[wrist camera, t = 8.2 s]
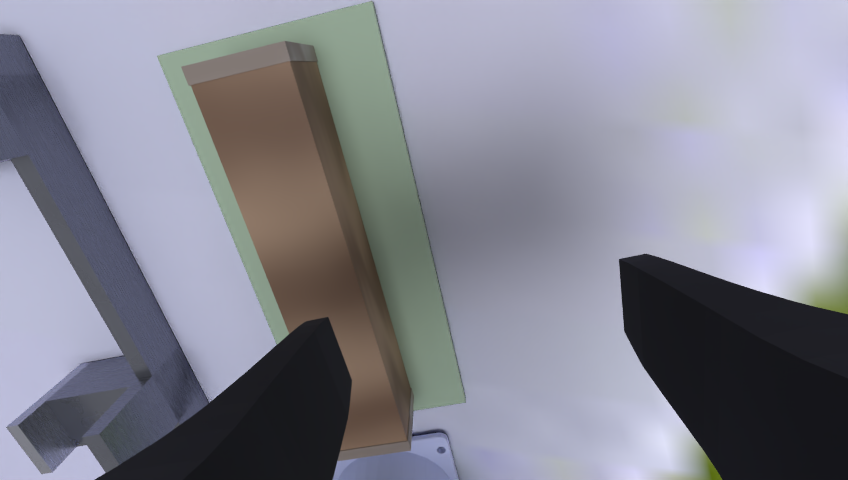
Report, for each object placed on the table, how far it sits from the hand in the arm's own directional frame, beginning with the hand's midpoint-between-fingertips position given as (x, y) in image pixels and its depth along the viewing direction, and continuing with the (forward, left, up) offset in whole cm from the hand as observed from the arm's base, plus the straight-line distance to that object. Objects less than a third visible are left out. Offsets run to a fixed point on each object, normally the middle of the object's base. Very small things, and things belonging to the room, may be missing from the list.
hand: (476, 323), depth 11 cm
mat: (-1, +6, -10) cm, 12 cm away
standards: (+1, +19, -10) cm, 22 cm away
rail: (-1, +6, -10) cm, 11 cm away
